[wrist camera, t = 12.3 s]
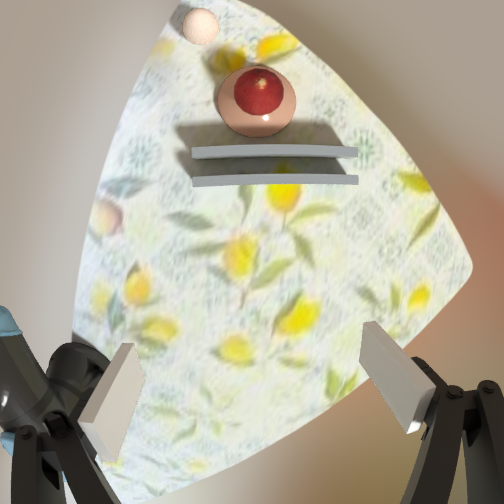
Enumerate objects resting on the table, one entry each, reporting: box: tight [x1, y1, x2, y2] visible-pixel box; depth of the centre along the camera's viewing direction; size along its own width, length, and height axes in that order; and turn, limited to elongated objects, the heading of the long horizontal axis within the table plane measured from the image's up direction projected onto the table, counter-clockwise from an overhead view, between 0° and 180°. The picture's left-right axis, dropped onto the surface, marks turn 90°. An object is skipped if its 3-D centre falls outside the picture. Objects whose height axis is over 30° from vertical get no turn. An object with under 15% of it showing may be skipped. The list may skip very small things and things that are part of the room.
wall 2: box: [191, 144, 358, 160], centre depth 35 cm, size 20×1×4 cm, turn 92°
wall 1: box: [192, 174, 358, 187], centre depth 35 cm, size 20×1×4 cm, turn 92°
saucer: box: [218, 66, 296, 138], centre depth 34 cm, size 10×10×1 cm
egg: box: [183, 8, 219, 45], centre depth 28 cm, size 5×5×7 cm
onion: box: [234, 68, 284, 116], centre depth 30 cm, size 6×6×8 cm
